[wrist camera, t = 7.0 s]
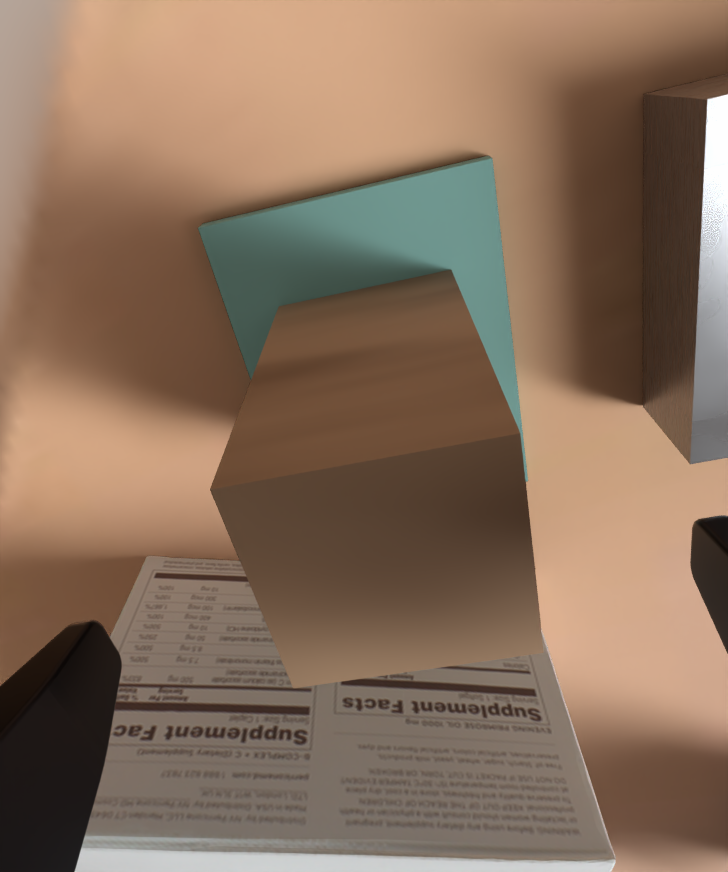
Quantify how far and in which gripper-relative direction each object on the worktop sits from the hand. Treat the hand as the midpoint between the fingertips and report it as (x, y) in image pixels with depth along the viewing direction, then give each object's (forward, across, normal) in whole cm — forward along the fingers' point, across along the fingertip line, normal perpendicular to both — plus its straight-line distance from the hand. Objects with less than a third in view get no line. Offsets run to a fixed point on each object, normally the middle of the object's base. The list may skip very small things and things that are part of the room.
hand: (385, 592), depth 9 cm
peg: (+8, 0, 0) cm, 8 cm away
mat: (+9, 0, 0) cm, 9 cm away
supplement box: (+9, +5, +15) cm, 18 cm away
